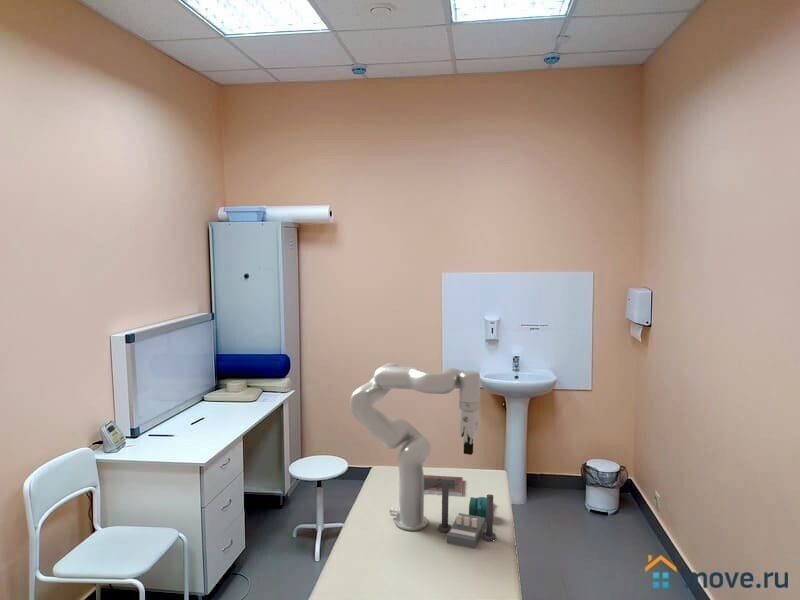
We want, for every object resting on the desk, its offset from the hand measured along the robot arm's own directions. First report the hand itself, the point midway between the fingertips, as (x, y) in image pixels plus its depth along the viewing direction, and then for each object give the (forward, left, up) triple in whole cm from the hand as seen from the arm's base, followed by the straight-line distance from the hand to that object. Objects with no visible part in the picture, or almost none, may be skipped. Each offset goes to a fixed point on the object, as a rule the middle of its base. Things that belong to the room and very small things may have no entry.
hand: (468, 453), depth 206 cm
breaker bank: (0, 0, -28) cm, 28 cm away
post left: (-9, 0, -31) cm, 32 cm away
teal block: (+1, +20, -31) cm, 37 cm away
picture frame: (-22, +36, -32) cm, 53 cm away
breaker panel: (0, 0, -31) cm, 31 cm away
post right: (+8, 0, -31) cm, 32 cm away
